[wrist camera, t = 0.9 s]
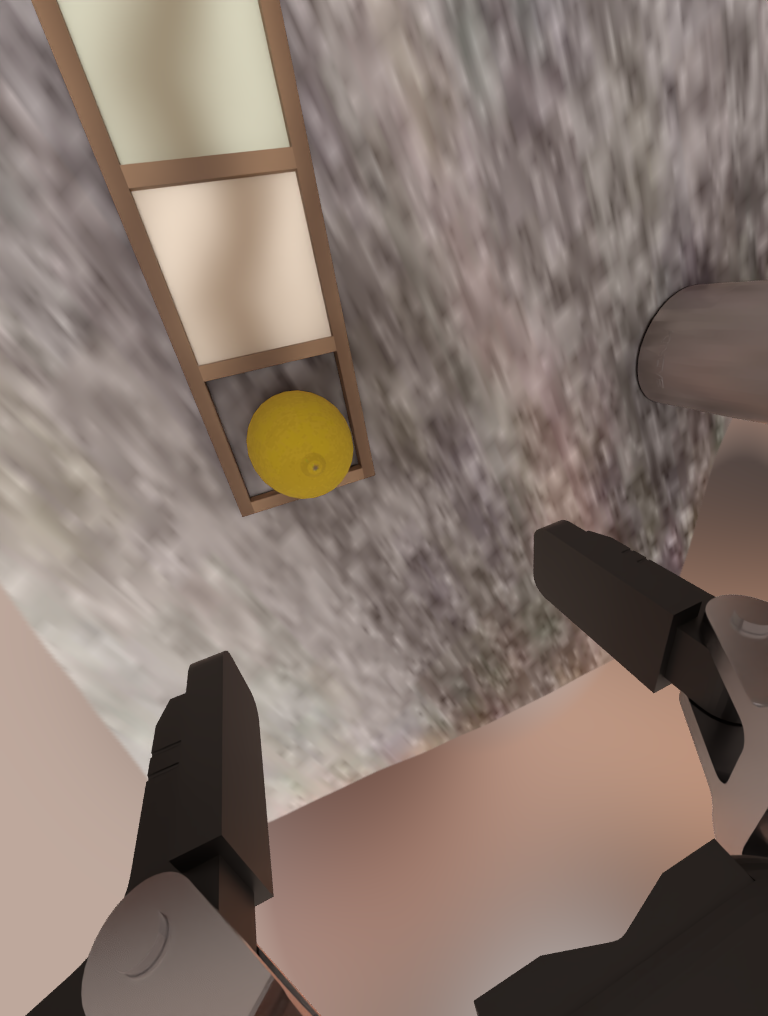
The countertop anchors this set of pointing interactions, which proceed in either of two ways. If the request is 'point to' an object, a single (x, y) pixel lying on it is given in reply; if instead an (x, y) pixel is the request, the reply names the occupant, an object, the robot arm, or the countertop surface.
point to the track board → (211, 188)
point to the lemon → (300, 444)
